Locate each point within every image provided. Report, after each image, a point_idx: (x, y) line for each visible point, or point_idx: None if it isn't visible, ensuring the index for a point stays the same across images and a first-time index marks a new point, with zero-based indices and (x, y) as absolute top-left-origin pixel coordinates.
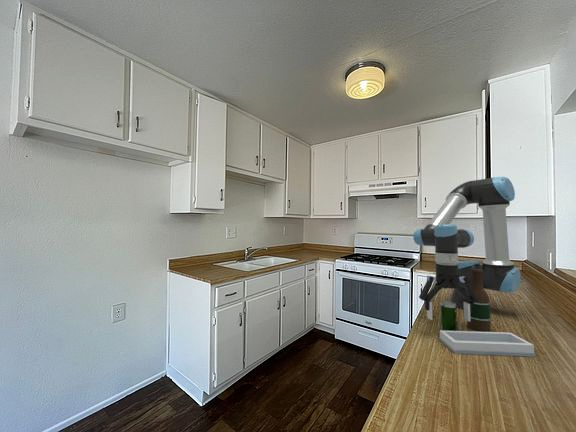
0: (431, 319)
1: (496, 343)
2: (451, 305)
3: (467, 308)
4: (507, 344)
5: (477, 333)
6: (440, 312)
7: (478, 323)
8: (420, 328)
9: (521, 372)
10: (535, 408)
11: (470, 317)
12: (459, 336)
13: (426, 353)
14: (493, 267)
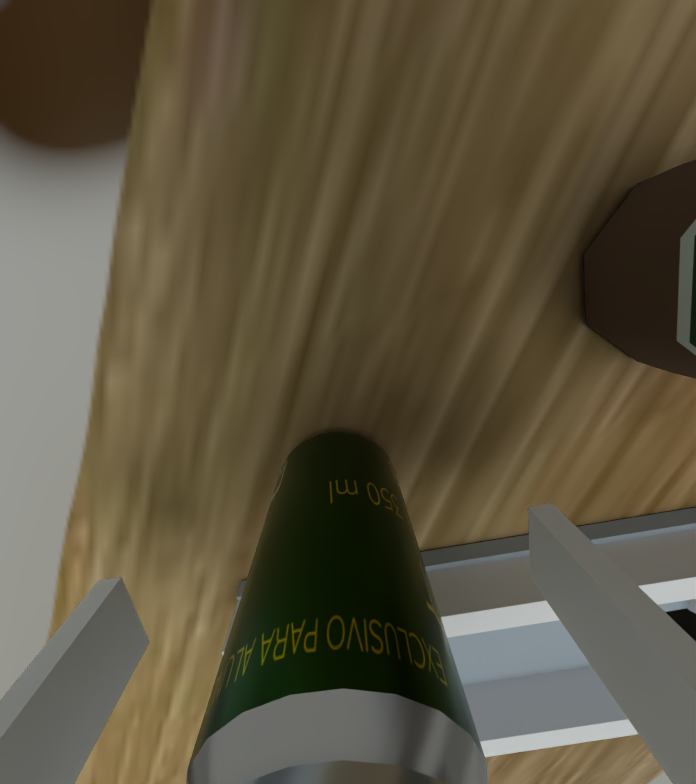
0: (135, 650)
1: (529, 748)
2: None
3: (656, 751)
4: (591, 738)
5: (504, 625)
6: (236, 616)
7: (678, 366)
8: (128, 407)
9: (500, 778)
10: None
11: (680, 311)
12: None
13: (139, 740)
14: None
